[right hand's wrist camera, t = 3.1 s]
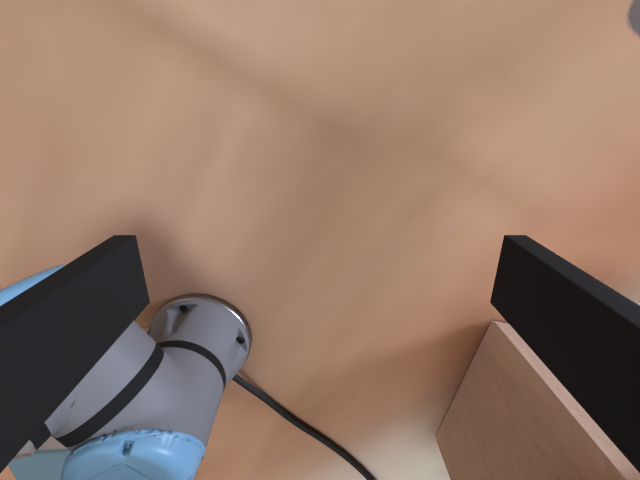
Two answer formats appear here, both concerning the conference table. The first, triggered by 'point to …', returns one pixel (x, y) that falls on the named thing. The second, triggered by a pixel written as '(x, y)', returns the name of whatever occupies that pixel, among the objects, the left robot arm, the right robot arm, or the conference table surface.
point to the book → (41, 462)
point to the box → (522, 422)
